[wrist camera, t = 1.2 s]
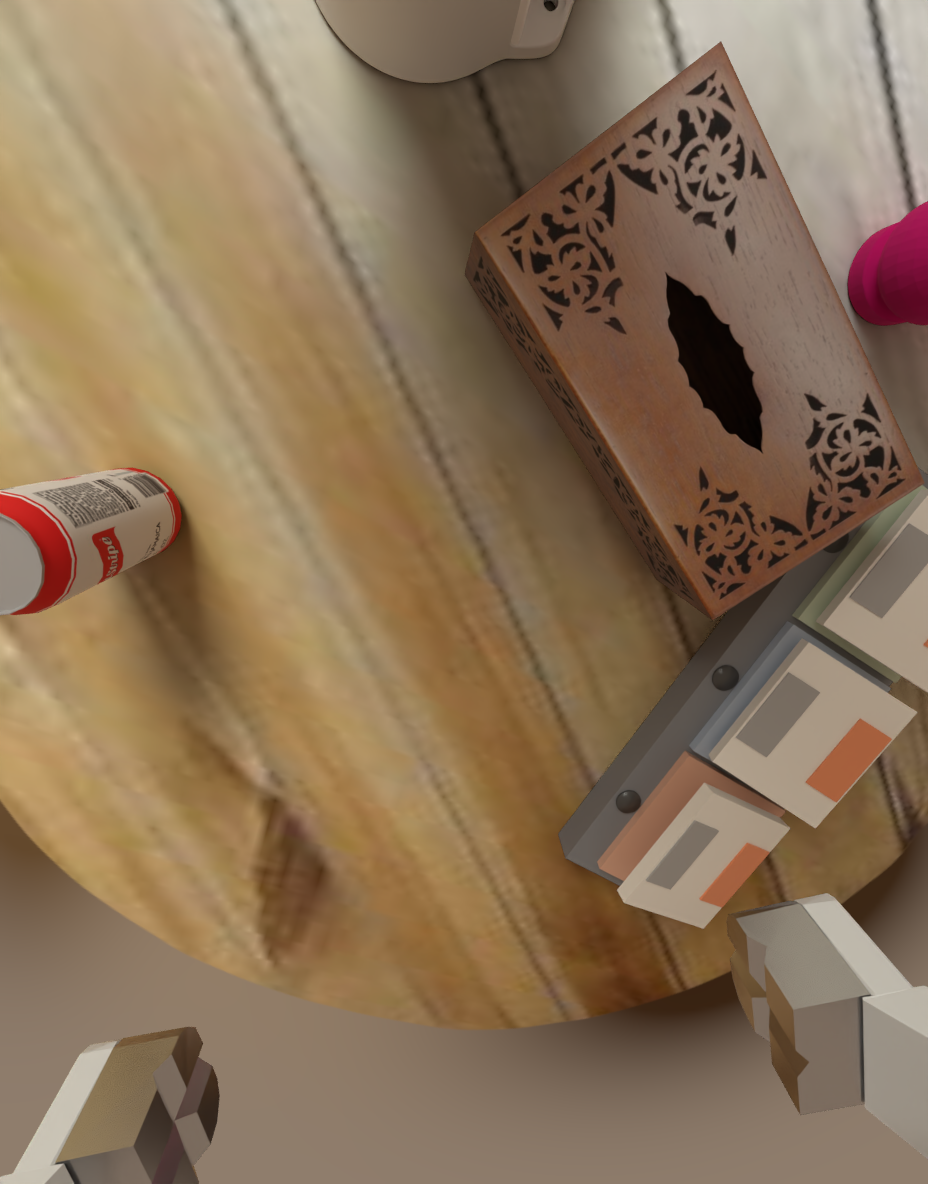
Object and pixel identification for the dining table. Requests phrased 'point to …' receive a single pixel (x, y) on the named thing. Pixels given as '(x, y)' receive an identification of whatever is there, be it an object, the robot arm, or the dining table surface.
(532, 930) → the dining table surface
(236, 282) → the dining table surface
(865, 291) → the pepper mill
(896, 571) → the cream two-patch switch cover
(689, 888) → the cream patched switch plate
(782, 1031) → the robot arm
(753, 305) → the tissue box cover
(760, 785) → the cream rectangular plate
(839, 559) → the gray rocker switch panel
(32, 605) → the beer can
